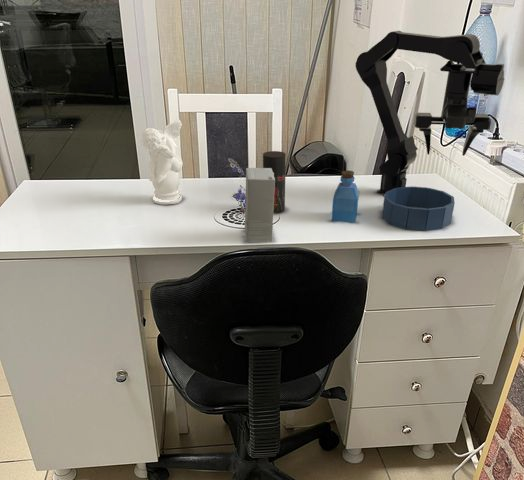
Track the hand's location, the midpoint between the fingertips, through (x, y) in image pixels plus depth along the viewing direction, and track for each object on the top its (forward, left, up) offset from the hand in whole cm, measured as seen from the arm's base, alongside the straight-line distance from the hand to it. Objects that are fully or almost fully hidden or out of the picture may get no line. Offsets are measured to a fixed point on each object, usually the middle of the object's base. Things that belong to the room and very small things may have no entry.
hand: (445, 154), depth 146 cm
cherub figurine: (-60, -50, -13) cm, 79 cm away
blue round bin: (+2, -15, -13) cm, 20 cm away
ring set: (-44, -35, -13) cm, 58 cm away
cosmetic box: (-20, -52, -13) cm, 57 cm away
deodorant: (-30, -36, -13) cm, 49 cm away
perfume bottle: (-12, -28, -13) cm, 33 cm away
